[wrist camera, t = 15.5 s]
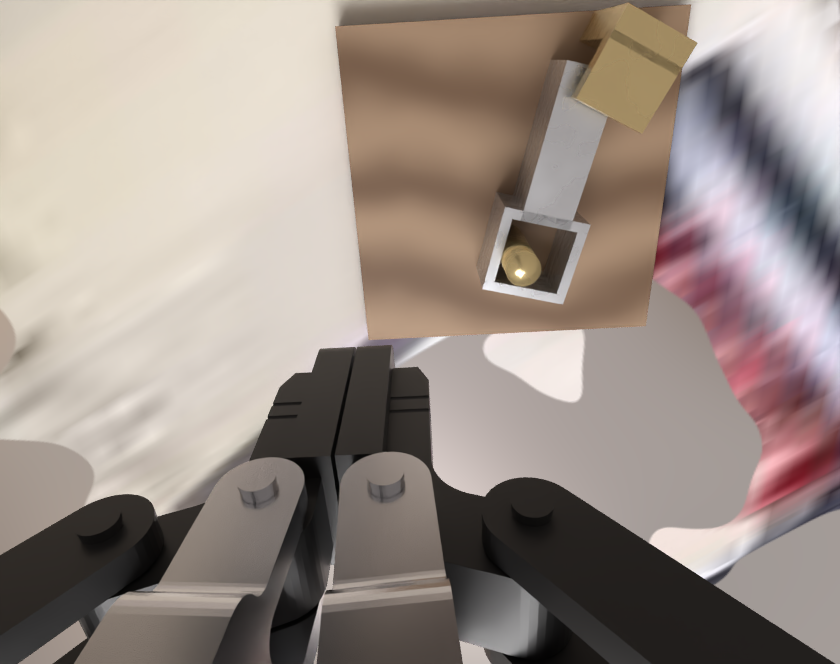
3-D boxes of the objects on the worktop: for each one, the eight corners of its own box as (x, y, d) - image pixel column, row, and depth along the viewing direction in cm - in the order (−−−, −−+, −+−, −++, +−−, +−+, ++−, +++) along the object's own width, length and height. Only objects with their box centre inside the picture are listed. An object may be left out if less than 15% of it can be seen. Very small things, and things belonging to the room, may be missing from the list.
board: (337, 27, 32) (335, 26, 31) (681, 6, 32) (691, 4, 31) (370, 332, 41) (368, 339, 40) (639, 319, 41) (645, 326, 40)
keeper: (608, 122, 34) (642, 133, 29) (552, 92, 33) (576, 98, 28) (653, 45, 32) (697, 42, 27) (594, 11, 31) (628, 2, 26)
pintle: (493, 225, 36) (506, 254, 31) (523, 223, 36) (541, 252, 31) (493, 254, 37) (505, 287, 32) (522, 252, 37) (540, 285, 32)
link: (532, 55, 32) (546, 55, 28) (617, 75, 32) (642, 77, 29) (476, 267, 38) (482, 289, 34) (549, 281, 38) (562, 304, 35)
